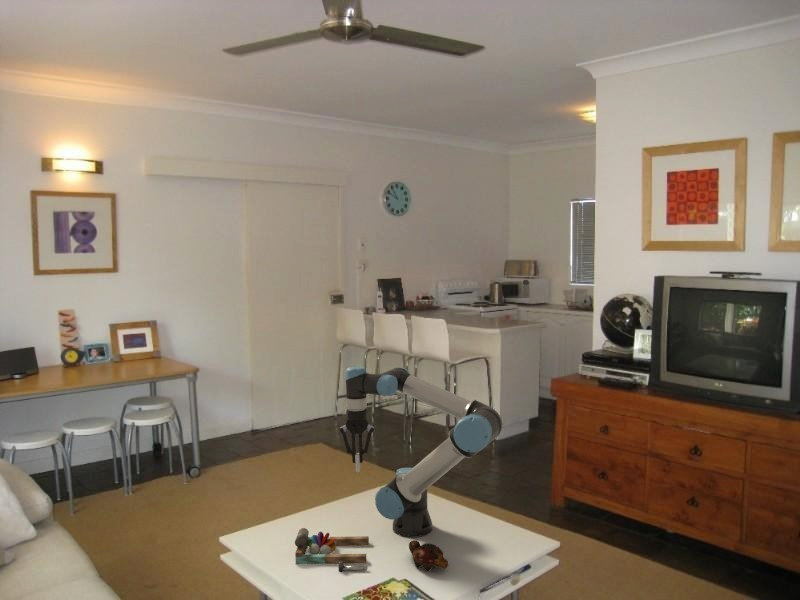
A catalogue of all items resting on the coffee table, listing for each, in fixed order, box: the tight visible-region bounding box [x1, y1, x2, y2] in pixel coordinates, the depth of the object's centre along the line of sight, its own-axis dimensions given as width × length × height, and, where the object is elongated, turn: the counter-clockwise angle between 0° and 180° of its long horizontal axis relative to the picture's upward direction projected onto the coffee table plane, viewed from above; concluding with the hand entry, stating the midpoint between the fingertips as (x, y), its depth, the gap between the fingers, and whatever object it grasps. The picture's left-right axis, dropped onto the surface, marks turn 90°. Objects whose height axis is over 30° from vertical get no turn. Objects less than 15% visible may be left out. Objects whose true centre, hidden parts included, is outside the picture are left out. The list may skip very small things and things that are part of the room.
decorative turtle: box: [408, 539, 449, 572], centre depth 224 cm, size 10×15×8 cm, turn 60°
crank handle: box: [337, 561, 369, 573], centre depth 222 cm, size 10×2×3 cm, turn 89°
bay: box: [294, 527, 370, 565], centre depth 235 cm, size 25×16×8 cm, turn 89°
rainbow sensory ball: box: [308, 531, 337, 554], centre depth 236 cm, size 8×10×7 cm
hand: (357, 471), depth 248 cm, fingers closed
